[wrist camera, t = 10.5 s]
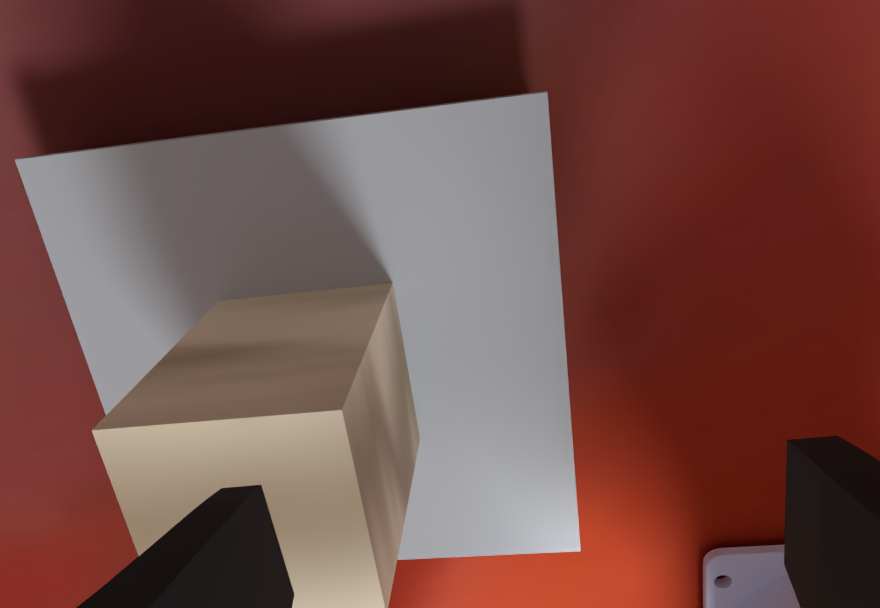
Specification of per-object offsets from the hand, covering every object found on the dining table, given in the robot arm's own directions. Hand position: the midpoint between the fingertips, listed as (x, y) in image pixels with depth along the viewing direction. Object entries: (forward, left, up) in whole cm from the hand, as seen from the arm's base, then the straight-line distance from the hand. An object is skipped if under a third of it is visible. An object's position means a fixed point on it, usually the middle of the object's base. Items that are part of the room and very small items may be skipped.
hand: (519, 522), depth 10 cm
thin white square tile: (-1, +5, -11) cm, 12 cm away
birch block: (-1, +5, -8) cm, 10 cm away
